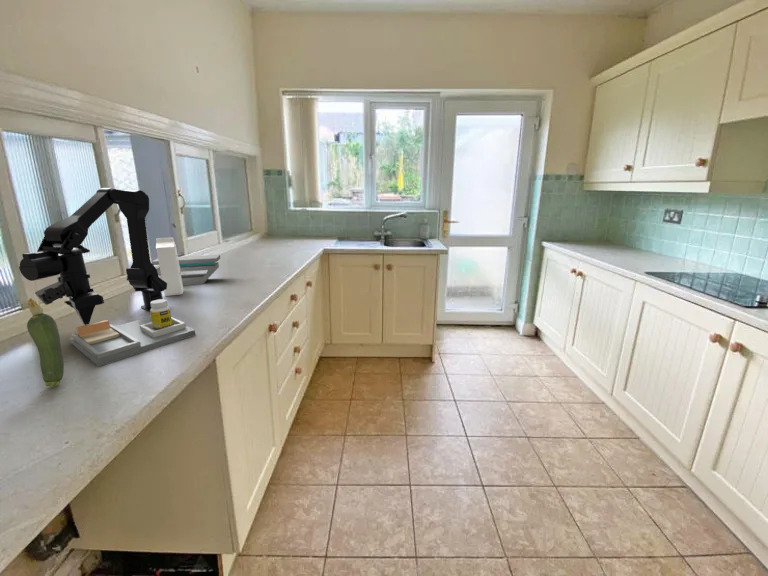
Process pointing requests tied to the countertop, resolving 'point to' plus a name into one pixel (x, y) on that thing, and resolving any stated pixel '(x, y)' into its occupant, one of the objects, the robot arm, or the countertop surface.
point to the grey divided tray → (132, 340)
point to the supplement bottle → (160, 314)
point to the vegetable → (46, 344)
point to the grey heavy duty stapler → (195, 268)
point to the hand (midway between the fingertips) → (86, 324)
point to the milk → (169, 265)
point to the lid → (96, 332)
